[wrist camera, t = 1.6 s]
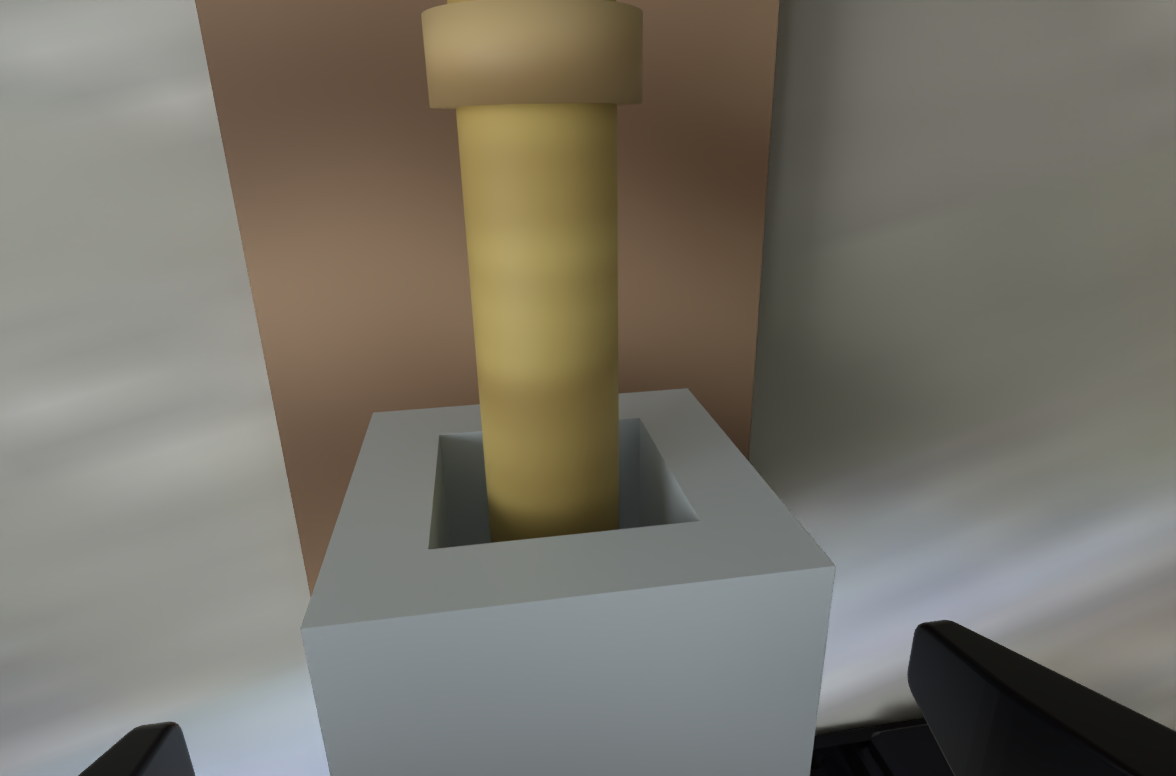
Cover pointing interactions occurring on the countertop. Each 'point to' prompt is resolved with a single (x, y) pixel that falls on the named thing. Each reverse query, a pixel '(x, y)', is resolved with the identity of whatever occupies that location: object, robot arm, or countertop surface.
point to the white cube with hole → (567, 614)
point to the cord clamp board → (407, 218)
